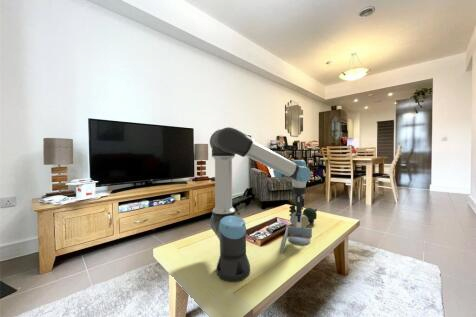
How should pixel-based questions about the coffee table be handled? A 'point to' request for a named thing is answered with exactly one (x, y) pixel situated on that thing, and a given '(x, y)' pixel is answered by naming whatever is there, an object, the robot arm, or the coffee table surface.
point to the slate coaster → (299, 240)
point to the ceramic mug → (303, 220)
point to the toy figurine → (305, 212)
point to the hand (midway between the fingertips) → (299, 223)
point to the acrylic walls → (295, 233)
